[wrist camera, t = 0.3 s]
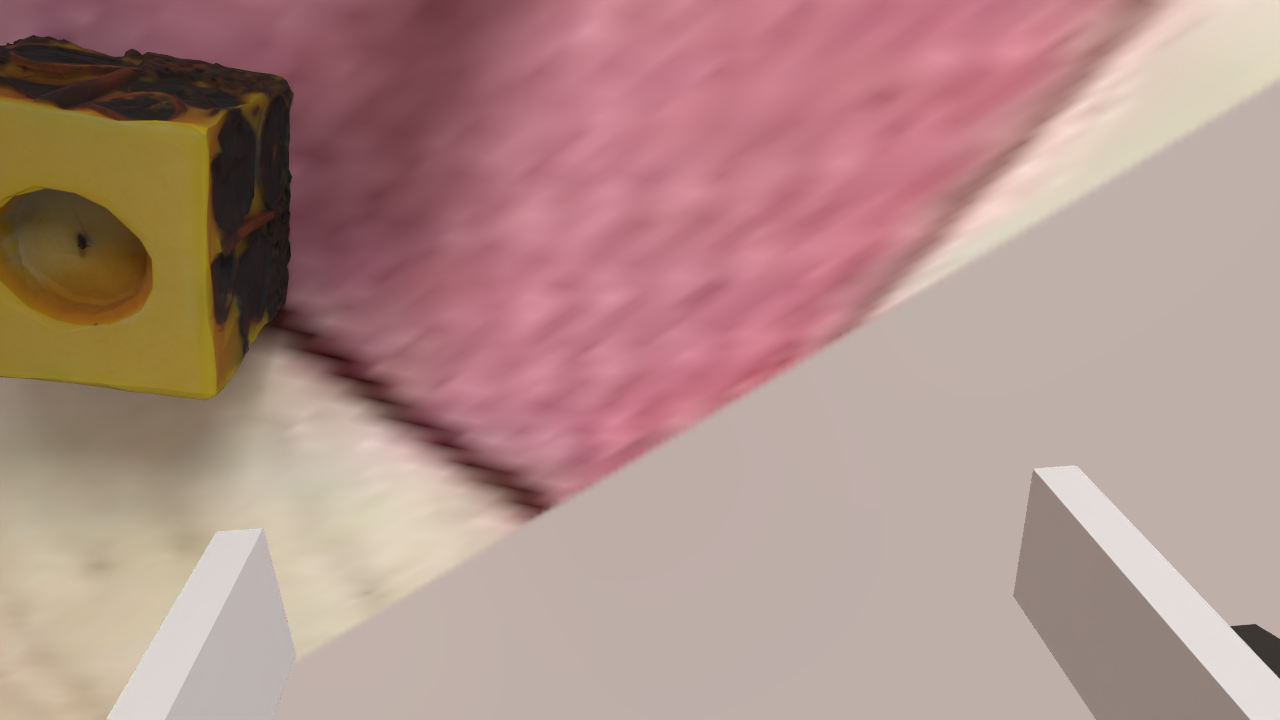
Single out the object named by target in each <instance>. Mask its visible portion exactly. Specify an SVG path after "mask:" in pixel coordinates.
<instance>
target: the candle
mask: <svg viewBox="0 0 1280 720" xmlns="http://www.w3.org/2000/svg"><path fill="white" fill-rule="evenodd" d="M293 95H294V94H293V93H292V91H291V89H290V87H289V85H288V83H287V81H286V80H284V79H283V77H279V76H276V75H273V74H265V73H257V72H251V71H245V70H240V69H235V68H228V67H224V66H222V65H220V64H217V63H215V64H210V63H207V62H203V61H199V60H190V59H177V58H174V57H171V56H168V55H162V54H156V53H151V52H147V53H146V54H144V55H141V54H140V53H139V52H138V51H136V50H134V49H130V50H129V51H127V52H126V53H125V55H124V57H115V58H114V57H111V56H108V55H105V54H102V53H99V52H96V51H93V50H88V49H83V48H81V47H79V46H77V45H74V44H72V43H70V42H68V41H66V40H56V39H54V38H51V37H49V36H48V37H37V36H34V35H32V36H30V37H28V38H25V39H23V40H22V39H19V40H17V41H15V42H14V44H9V43H7V44H6V45H5V46H0V377H10V378H25V379H37V380H47V381H57V382H67V383H76V384H84V385H92V386H100V387H107V388H113V389H119V390H125V391H131V392H143V393H153V394H161V395H169V396H177V397H185V398H194V399H202V400H206V399H209V398H211V397H213V396H215V395H217V394H218V393H219V392H220V391H221V390H222V389H223V388H224V386H225V385H226V384H227V382H228V381H229V380H230V378H231V377H232V375H233V374H234V373H235V371H236V370H237V368H238V366H239V365H240V363H241V362H242V360H243V358H244V356H245V354H246V352H247V351H248V350H249V349H248V345H249V344H251V343H252V342H254V341H255V339H256V337H257V335H258V333H259V331H260V330H261V329H262V327H263V326H264V325H265V324H270V322H271V321H272V320H273V318H274V317H275V316H276V315H277V313H278V312H279V308H280V307H281V306H282V305H283V304H285V301H286V294H287V286H288V274H289V273H288V268H287V263H288V261H289V259H290V257H291V254H290V242H289V240H288V238H287V235H288V233H289V231H290V227H289V217H290V212H289V210H288V209H289V202H290V196H291V195H290V187H289V182H290V180H291V178H292V176H291V174H290V171H289V152H288V146H289V140H290V133H289V106H290V103H291V100H292V97H293Z"/></svg>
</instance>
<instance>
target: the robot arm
mask: <svg viewBox="0 0 1280 720" xmlns="http://www.w3.org/2000/svg"><path fill="white" fill-rule="evenodd" d="M1013 596H1014V597H1015V599H1016V601H1017V602H1018V604H1019V605H1020V606H1021V608H1022V610H1023V611H1024V613H1025V614H1026V616H1027V617H1028V619H1029V620H1030V622H1031V623H1032V625H1033V626H1034V628H1035V629H1036V630H1037V632H1038V634H1039V635H1040V636H1041V638H1042V640H1043V641H1044V643H1045V644H1046V645H1047V647H1048V649H1049V650H1050V652H1051V653H1052V655H1053V656H1054V658H1055V659H1056V661H1057V662H1058V663H1059V665H1060V667H1061V668H1062V669H1063V671H1064V672H1065V674H1066V675H1067V677H1068V678H1069V680H1070V681H1071V683H1072V684H1073V686H1074V687H1075V689H1076V690H1077V692H1078V693H1079V695H1080V696H1081V698H1082V699H1083V701H1084V702H1085V704H1086V705H1087V707H1088V708H1089V710H1090V711H1091V713H1092V714H1093V716H1094V717H1095V719H1096V720H1280V639H1279V638H1277V637H1276V636H1274V635H1272V634H1271V633H1269V632H1267V631H1266V630H1264V629H1262V628H1261V627H1259V626H1258V625H1256V624H1251V625H1240V626H1229V625H1228V624H1227V623H1226V622H1225V621H1224V620H1223V619H1222V618H1221V617H1220V616H1219V615H1218V614H1217V613H1216V612H1215V611H1214V609H1213V608H1212V607H1211V606H1209V604H1208V603H1207V602H1206V601H1205V600H1204V599H1203V598H1202V597H1201V596H1200V595H1199V594H1198V593H1197V592H1196V591H1195V590H1194V588H1193V587H1192V586H1191V585H1190V584H1189V583H1188V582H1187V581H1186V580H1185V579H1184V578H1183V577H1182V576H1181V575H1180V574H1179V573H1178V572H1177V571H1176V570H1175V569H1174V568H1173V566H1172V565H1171V564H1170V563H1169V562H1168V561H1167V560H1166V559H1165V558H1164V557H1163V556H1162V555H1161V554H1160V553H1159V552H1158V551H1157V550H1156V549H1155V547H1153V545H1152V544H1151V543H1150V542H1149V541H1148V540H1147V539H1146V538H1145V537H1144V536H1143V535H1142V534H1141V533H1140V532H1139V531H1138V530H1137V529H1136V528H1135V526H1134V525H1133V524H1131V522H1130V521H1128V519H1127V518H1126V517H1125V516H1124V515H1123V514H1122V513H1121V512H1120V511H1119V510H1118V509H1117V508H1116V507H1115V505H1114V504H1113V503H1112V502H1111V501H1110V500H1109V499H1108V498H1107V497H1106V496H1105V495H1104V494H1103V493H1102V492H1101V491H1100V490H1099V489H1098V488H1097V487H1096V485H1094V483H1093V482H1092V481H1091V480H1090V479H1089V478H1088V477H1087V476H1086V475H1085V474H1084V473H1083V472H1082V471H1081V470H1080V469H1079V468H1078V467H1077V466H1076V465H1075V466H1062V467H1050V468H1036V469H1033V474H1032V480H1031V486H1030V492H1029V499H1028V505H1027V512H1026V519H1025V525H1024V532H1023V538H1022V545H1021V550H1020V557H1019V563H1018V570H1017V576H1016V582H1015V589H1014V595H1013ZM295 658H296V653H295V649H294V645H293V641H292V637H291V633H290V629H289V626H288V622H287V618H286V614H285V610H284V606H283V603H282V599H281V595H280V591H279V587H278V583H277V579H276V576H275V572H274V568H273V564H272V560H271V556H270V552H269V549H268V545H267V541H266V537H265V533H264V529H263V528H255V529H242V530H229V531H216V533H215V535H214V536H213V538H212V540H211V542H210V543H209V545H208V547H207V548H206V550H205V552H204V553H203V555H202V557H201V559H200V560H199V562H198V564H197V565H196V567H195V569H194V571H193V572H192V574H191V576H190V577H189V579H188V581H187V582H186V584H185V586H184V588H183V589H182V591H181V593H180V594H179V596H178V598H177V599H176V601H175V603H174V605H173V606H172V608H171V610H170V611H169V613H168V615H167V616H166V618H165V620H164V622H163V623H162V625H161V627H160V628H159V630H158V632H157V634H156V635H155V637H154V639H153V640H152V642H151V644H150V645H149V647H148V649H147V651H146V652H145V654H144V656H143V657H142V659H141V661H140V662H139V664H138V666H137V668H136V669H135V671H134V673H133V674H132V676H131V678H130V679H129V681H128V683H127V685H126V686H125V688H124V690H123V691H122V693H121V695H120V697H119V698H118V700H117V702H116V703H115V705H114V707H113V708H112V710H111V712H110V714H109V715H108V717H107V719H106V720H272V719H273V716H274V713H275V711H276V708H277V705H278V703H279V700H280V698H281V695H282V692H283V690H284V687H285V684H286V682H287V679H288V676H289V674H290V671H291V668H292V666H293V663H294V660H295Z"/></svg>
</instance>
